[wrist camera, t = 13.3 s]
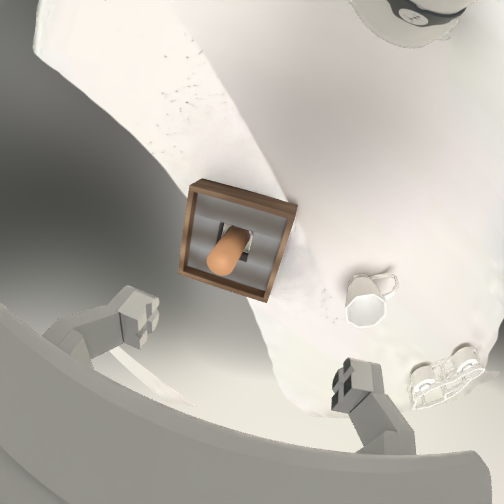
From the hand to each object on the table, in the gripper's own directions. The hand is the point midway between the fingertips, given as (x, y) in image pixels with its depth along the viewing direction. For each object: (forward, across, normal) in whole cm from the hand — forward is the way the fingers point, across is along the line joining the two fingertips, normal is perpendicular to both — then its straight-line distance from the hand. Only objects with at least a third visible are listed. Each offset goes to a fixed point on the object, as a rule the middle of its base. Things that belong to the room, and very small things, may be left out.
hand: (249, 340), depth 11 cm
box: (+34, +7, +13) cm, 37 cm away
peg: (+34, +7, +13) cm, 37 cm away
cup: (+34, -17, +14) cm, 41 cm away
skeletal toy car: (+34, -48, +30) cm, 66 cm away
